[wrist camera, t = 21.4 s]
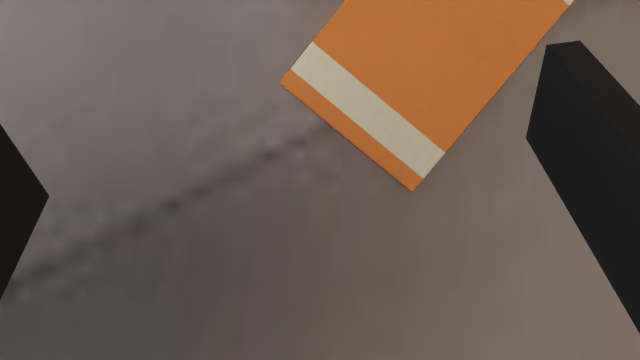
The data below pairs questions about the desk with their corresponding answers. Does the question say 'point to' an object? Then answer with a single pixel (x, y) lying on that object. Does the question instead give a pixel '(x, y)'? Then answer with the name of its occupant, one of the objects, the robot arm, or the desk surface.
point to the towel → (414, 72)
